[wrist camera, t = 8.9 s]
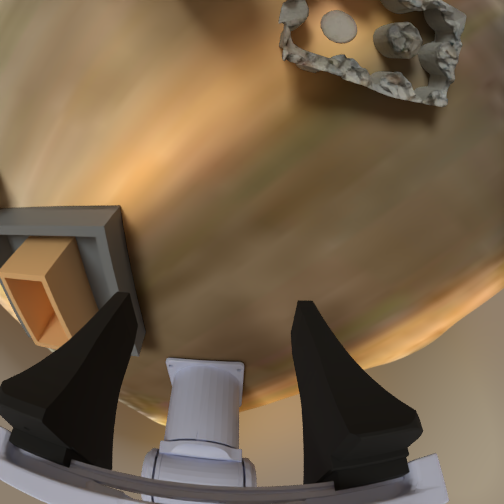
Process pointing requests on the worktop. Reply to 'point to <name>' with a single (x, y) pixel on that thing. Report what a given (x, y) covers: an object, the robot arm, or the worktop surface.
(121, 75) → the worktop surface
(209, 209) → the worktop surface
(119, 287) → the charcoal bin
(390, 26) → the egg carton
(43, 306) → the orange crate
